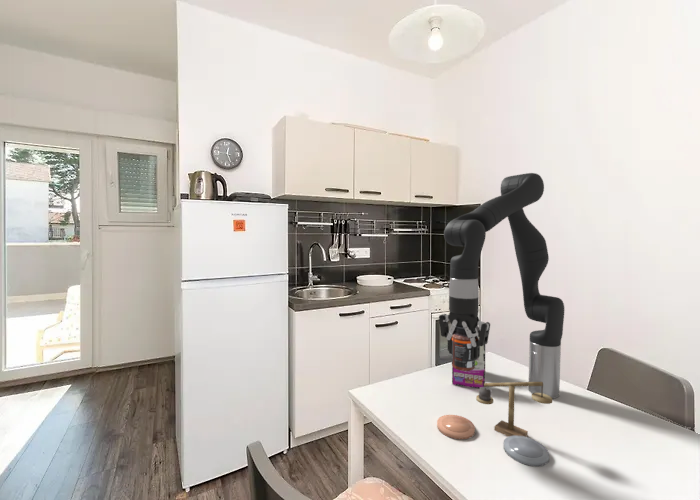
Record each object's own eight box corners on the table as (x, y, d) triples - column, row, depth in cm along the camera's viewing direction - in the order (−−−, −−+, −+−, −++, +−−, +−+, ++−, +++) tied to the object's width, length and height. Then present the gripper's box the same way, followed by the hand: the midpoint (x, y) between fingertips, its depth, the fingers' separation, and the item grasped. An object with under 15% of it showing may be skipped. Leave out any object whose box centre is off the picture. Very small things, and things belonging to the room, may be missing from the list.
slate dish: (513, 435, 90) (513, 430, 90) (555, 453, 83) (555, 448, 83) (496, 450, 84) (496, 445, 84) (539, 472, 76) (539, 466, 76)
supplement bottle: (476, 372, 87) (477, 330, 87) (453, 371, 88) (453, 329, 88) (472, 364, 93) (473, 323, 93) (450, 362, 94) (450, 322, 94)
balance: (480, 415, 100) (481, 360, 100) (553, 446, 86) (555, 382, 85) (472, 420, 97) (473, 364, 97) (547, 454, 83) (549, 387, 82)
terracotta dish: (449, 414, 101) (449, 410, 101) (481, 429, 93) (481, 424, 93) (429, 427, 94) (430, 423, 94) (462, 444, 87) (462, 439, 86)
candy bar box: (485, 384, 121) (486, 339, 120) (485, 390, 117) (485, 343, 116) (452, 379, 125) (453, 335, 125) (451, 384, 121) (452, 339, 120)
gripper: (496, 296, 87) (495, 360, 88) (447, 289, 98) (446, 346, 99) (483, 300, 82) (482, 368, 83) (432, 293, 93) (432, 352, 94)
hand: (463, 356), depth 91 cm, fingers closed on supplement bottle, 6 cm apart
